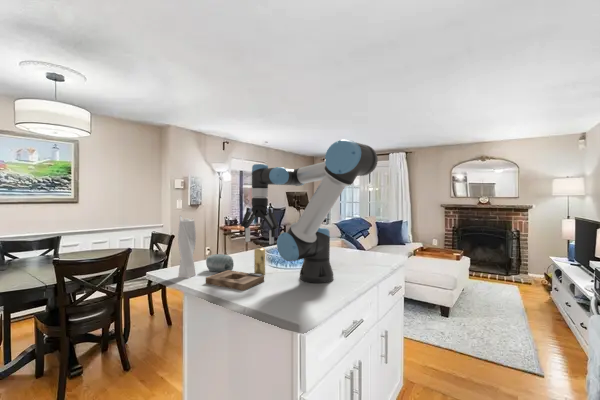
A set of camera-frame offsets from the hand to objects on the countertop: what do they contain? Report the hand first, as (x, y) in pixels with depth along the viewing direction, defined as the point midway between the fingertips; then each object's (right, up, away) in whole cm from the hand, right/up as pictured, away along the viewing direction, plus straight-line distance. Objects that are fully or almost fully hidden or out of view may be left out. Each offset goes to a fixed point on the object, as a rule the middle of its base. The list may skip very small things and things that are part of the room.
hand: (259, 242), depth 136 cm
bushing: (0, -15, 0) cm, 15 cm away
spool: (-20, -15, +6) cm, 26 cm away
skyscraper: (-33, -15, -3) cm, 36 cm away
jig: (-9, -15, -12) cm, 21 cm away
